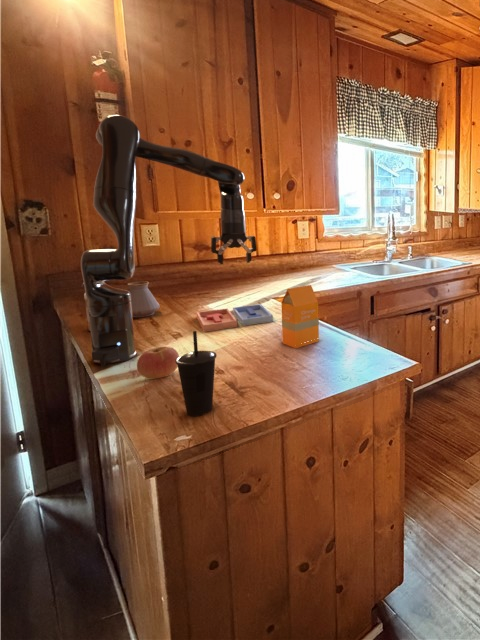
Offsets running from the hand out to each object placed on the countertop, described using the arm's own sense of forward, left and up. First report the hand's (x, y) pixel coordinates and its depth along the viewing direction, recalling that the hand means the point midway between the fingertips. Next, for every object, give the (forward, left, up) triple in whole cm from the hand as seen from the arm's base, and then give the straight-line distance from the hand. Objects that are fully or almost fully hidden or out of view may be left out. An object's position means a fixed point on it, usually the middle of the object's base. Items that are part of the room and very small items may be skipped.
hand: (235, 263), depth 155 cm
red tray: (+4, +6, -24) cm, 25 cm away
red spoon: (+5, +6, -23) cm, 24 cm away
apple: (-40, +25, -24) cm, 53 cm away
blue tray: (+4, -6, -24) cm, 25 cm away
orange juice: (-35, -13, -24) cm, 44 cm away
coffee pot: (+30, +32, -24) cm, 50 cm away
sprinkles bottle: (+17, +39, -24) cm, 49 cm away
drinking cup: (-68, +19, -24) cm, 74 cm away
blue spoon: (+4, -6, -23) cm, 24 cm away
